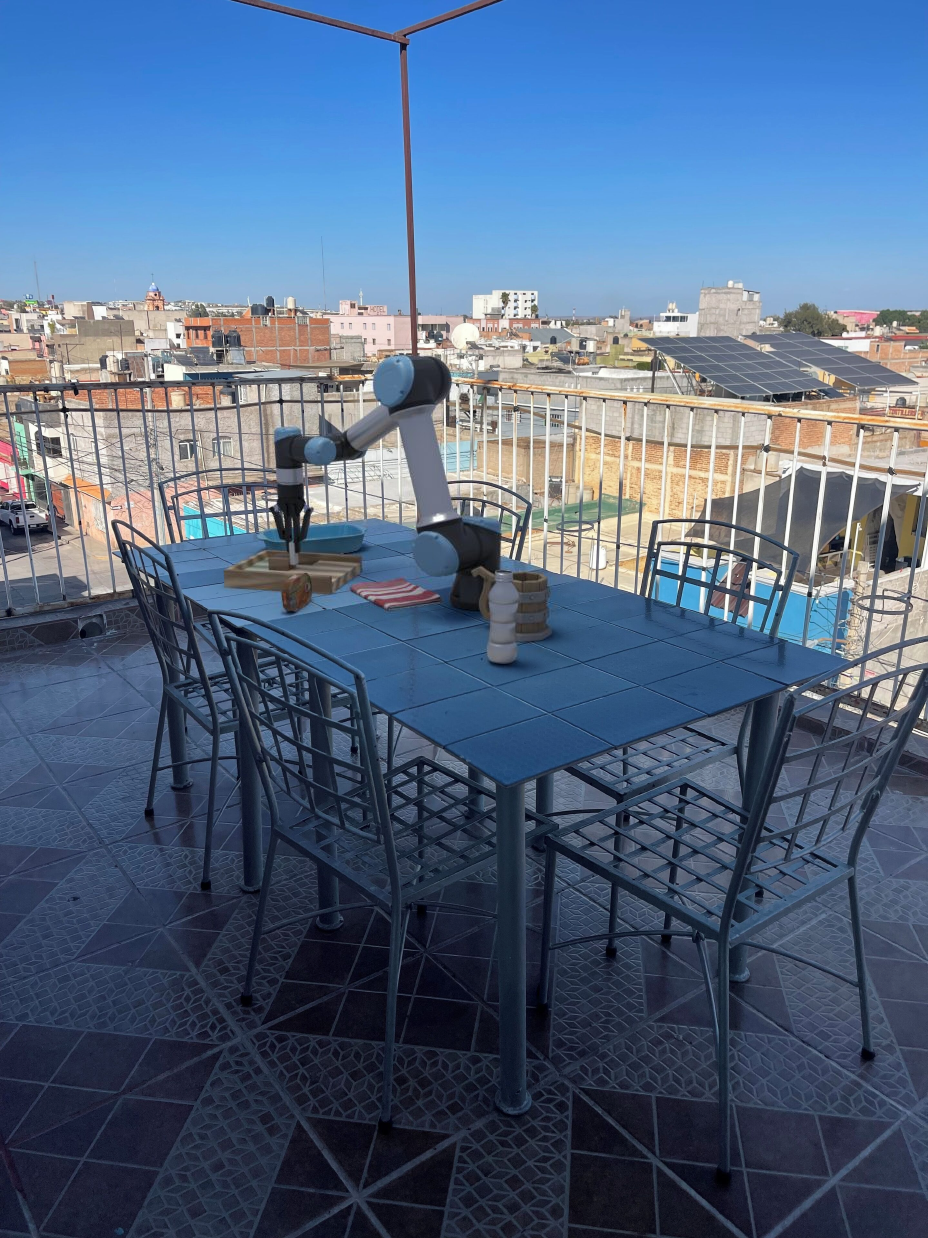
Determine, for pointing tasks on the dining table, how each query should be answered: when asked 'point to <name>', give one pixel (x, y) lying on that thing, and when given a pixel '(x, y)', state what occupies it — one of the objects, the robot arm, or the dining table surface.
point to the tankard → (522, 603)
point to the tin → (296, 592)
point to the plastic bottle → (502, 619)
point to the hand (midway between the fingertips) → (294, 563)
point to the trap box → (294, 571)
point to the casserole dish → (320, 539)
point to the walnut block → (280, 563)
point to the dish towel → (395, 594)
